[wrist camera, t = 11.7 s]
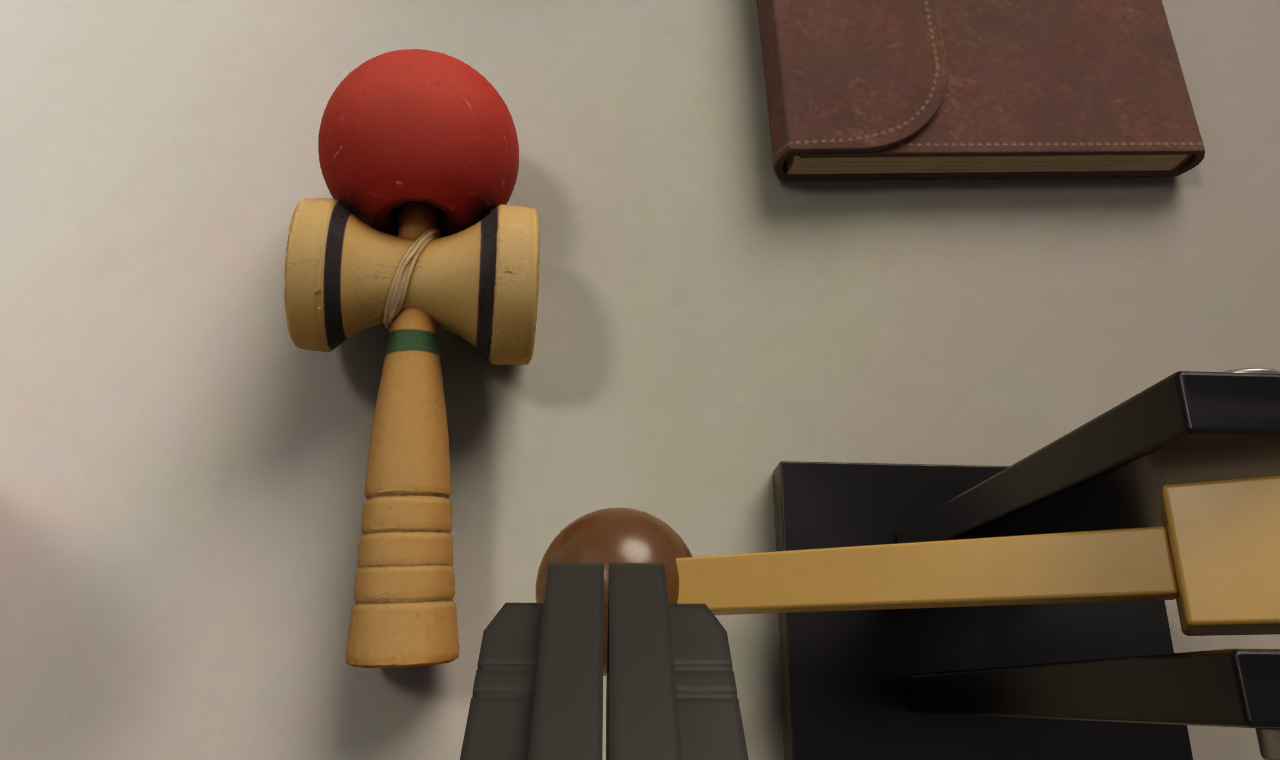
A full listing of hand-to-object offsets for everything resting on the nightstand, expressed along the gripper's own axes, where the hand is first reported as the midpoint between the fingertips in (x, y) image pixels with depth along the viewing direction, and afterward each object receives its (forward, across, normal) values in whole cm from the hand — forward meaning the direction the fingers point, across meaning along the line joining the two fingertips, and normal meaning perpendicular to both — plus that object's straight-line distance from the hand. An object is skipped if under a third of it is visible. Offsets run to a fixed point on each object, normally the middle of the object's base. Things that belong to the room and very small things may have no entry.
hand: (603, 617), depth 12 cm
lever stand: (+11, -11, +10) cm, 18 cm away
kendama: (+17, +5, +4) cm, 18 cm away
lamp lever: (+6, -6, +4) cm, 9 cm away
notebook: (+29, -13, -8) cm, 33 cm away
